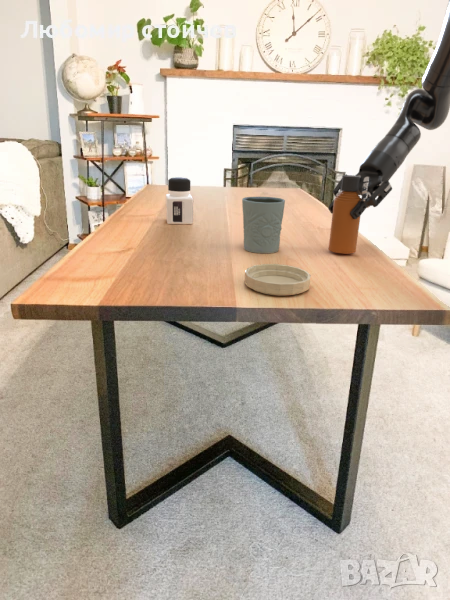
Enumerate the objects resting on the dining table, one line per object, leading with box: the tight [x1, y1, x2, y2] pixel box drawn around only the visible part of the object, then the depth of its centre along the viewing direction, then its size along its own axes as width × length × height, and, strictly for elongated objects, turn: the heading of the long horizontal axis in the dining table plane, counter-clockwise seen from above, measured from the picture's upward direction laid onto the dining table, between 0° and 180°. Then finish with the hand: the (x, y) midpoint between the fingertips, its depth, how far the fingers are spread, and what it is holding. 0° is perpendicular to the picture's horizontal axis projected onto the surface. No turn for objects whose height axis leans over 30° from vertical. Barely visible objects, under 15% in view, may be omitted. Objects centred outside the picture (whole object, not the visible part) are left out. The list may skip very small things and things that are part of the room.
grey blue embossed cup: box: [241, 196, 286, 254], centre depth 106 cm, size 10×10×12 cm
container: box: [165, 176, 194, 225], centre depth 133 cm, size 8×8×13 cm
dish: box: [244, 263, 312, 297], centre depth 83 cm, size 12×12×2 cm
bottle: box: [328, 191, 362, 255], centre depth 104 cm, size 6×6×17 cm
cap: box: [340, 174, 360, 191], centre depth 101 cm, size 4×4×3 cm
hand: (341, 213), depth 103 cm, fingers closed on bottle, 6 cm apart
